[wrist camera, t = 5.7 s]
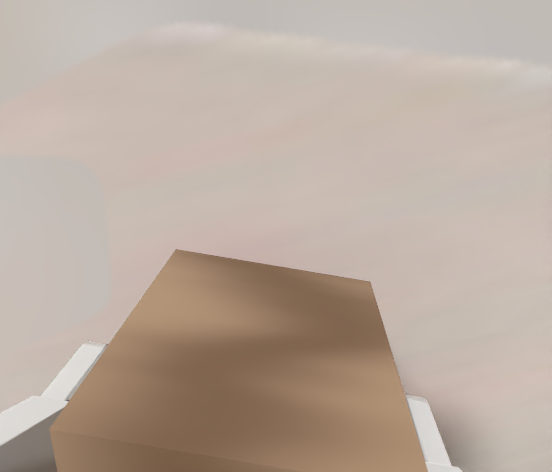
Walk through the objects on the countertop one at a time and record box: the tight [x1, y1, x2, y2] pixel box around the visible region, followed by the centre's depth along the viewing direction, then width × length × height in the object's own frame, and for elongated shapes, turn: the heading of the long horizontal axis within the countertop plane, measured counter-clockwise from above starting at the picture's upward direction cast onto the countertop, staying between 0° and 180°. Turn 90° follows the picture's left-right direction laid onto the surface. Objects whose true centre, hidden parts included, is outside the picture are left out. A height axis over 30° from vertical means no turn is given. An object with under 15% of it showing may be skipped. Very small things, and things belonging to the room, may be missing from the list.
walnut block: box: [49, 249, 428, 472], centre depth 8 cm, size 5×5×5 cm
